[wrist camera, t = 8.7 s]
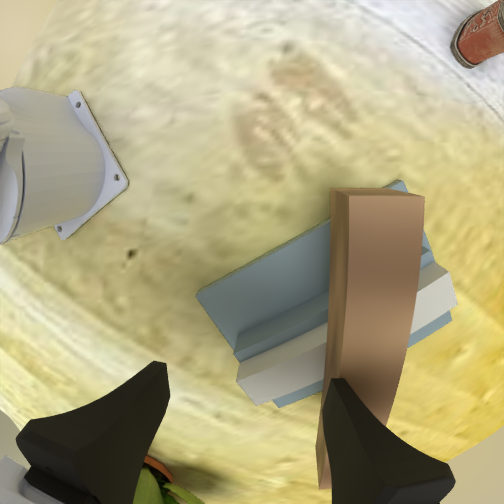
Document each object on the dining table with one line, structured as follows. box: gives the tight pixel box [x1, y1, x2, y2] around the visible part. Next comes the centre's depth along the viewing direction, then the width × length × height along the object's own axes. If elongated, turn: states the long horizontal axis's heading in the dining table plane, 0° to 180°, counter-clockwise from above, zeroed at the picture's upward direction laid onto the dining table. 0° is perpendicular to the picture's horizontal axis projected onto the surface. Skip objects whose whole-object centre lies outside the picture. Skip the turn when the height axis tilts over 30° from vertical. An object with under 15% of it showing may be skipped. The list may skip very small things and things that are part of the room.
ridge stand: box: [196, 180, 458, 408], centre depth 19 cm, size 16×12×6 cm
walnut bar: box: [316, 188, 425, 490], centre depth 14 cm, size 18×3×4 cm, turn 3°
